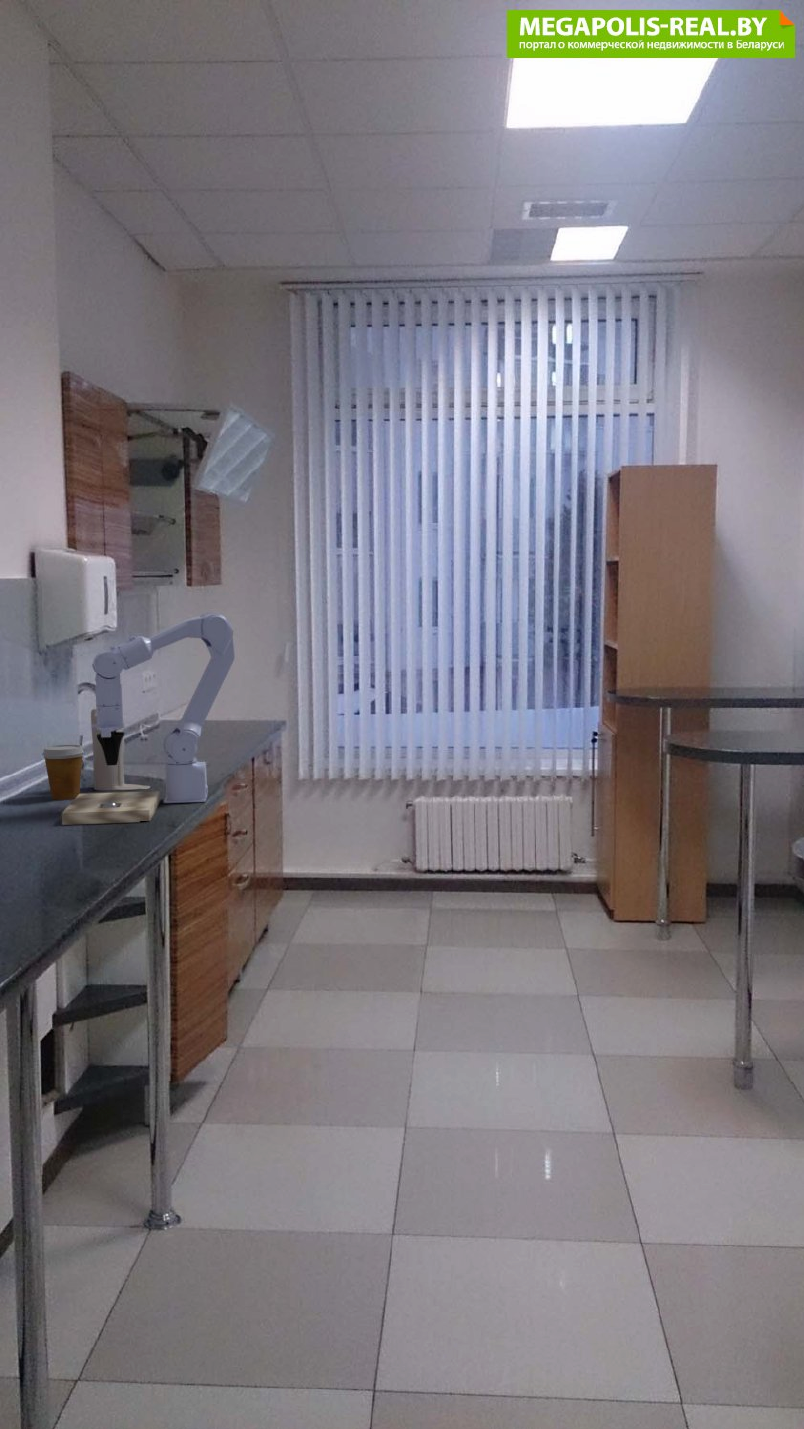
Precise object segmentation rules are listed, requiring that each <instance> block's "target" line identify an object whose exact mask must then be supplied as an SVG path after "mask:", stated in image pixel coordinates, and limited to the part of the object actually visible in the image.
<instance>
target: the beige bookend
mask: <svg viewBox="0 0 804 1429" xmlns="http://www.w3.org/2000/svg"><path fill="white" fill-rule="evenodd" d="M90 722H91V723H90V728H91V739H92V758H93V760H92V762H93V764H92V765H93V766H92V769H93V770H92V771H93V785H94V786H93V788H94V790H95V791H100V792H101V791H105V792H107V791H108V792H109V791H115V792H117V791H136V790H137V791H139V790H149V789H150V788H151V786H150V785H142V784H134V783H133V784H132V783H125V776H124V775H125V774H124V773H125V770H124V755H125V737H124V736H123V739H122V741H121V745H120V749H119V757H118V762H117V765H107V764H106V760H105V756H104V752H103V749H102V746H101V744H100V742H99V741H98V739H97V735H98V734H101V731H100V730H98V729H96V728H92V725H94V724H97V712H96V708H93V709H91V711H90ZM116 732H123V728H121V729H118V730H116Z"/></svg>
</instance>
